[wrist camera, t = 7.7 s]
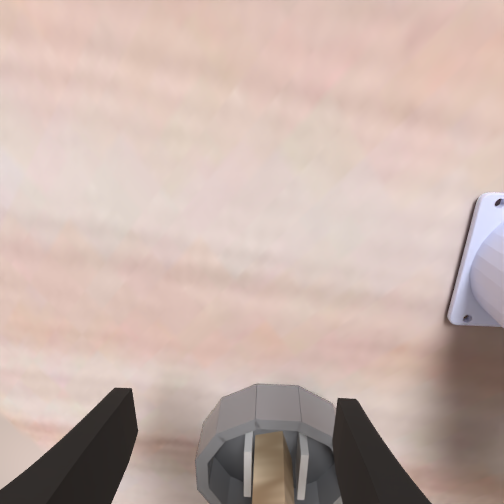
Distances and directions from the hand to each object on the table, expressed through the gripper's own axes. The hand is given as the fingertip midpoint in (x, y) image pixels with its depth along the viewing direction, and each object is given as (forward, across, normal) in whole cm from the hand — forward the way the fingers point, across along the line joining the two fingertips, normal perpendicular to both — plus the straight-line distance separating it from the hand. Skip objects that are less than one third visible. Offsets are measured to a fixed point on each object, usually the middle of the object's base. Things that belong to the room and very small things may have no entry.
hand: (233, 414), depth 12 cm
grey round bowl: (+10, -2, +13) cm, 16 cm away
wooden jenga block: (+9, -2, +13) cm, 16 cm away
